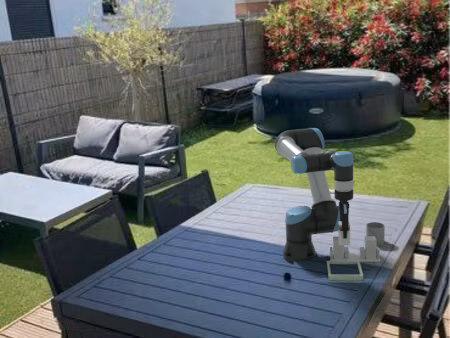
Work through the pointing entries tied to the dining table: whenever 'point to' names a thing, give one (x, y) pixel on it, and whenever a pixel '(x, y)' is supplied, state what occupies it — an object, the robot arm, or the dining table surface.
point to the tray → (344, 276)
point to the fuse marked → (340, 232)
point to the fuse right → (370, 247)
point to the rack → (356, 255)
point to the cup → (376, 231)
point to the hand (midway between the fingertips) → (344, 242)
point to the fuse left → (337, 249)
